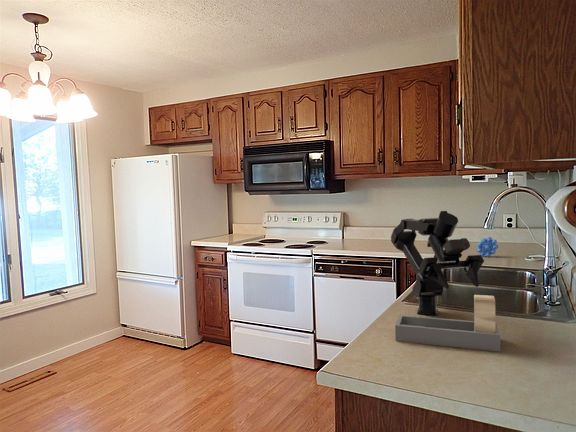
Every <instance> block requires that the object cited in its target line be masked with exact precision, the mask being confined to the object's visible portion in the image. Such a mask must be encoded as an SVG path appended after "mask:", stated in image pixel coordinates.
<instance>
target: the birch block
mask: <svg viewBox="0 0 576 432" xmlns="http://www.w3.org/2000/svg"><path fill="white" fill-rule="evenodd" d="M473 313H474V314H473V321H474V332H485V333H495V323H496V298H495V296H494V295H487V294H486V295H484V294H474V295H473Z"/></svg>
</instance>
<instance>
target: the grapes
mask: <svg viewBox="0 0 576 432" xmlns="http://www.w3.org/2000/svg"><path fill="white" fill-rule="evenodd" d="M497 243H498V241H497V239H493V237H491V236H490V237H489V236H488V237H487V238H486V237H484V238H482V239H481V240H480V241H479V242H478V243H477V248H476V252H477V253H479V255H481V256H482V257H484V256H485V257H486V256H489V257H491V255H495V254H496V252H497V250H498V249H499V244H497Z"/></svg>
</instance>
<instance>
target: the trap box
mask: <svg viewBox="0 0 576 432" xmlns="http://www.w3.org/2000/svg"><path fill="white" fill-rule="evenodd" d="M394 327H395V331H394V333H395V341H396V342H405V343H415V344H424V345H432V346H433V345H434V346H442V347H449V348H450V347H452V348H461V349H471V350H479V351H480V350H481V351H490V352H499V353H500V352H501V333H500V329H499V326H498V323H497V322H495V333H485V332H474V320H463V319H452V318H451V319H449V318H442V317H441V318H439V317H427V316H416V315H415V316H414V315H402V314H400V315H398V318H397V321H396V322H395V326H394Z"/></svg>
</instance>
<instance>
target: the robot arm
mask: <svg viewBox="0 0 576 432" xmlns="http://www.w3.org/2000/svg"><path fill="white" fill-rule="evenodd" d="M458 223H459V218H458V217H457V216H456V215H454V214H452V213H449V212H448V211H447V210H441V211H439V215H438V217H433V218H432V217H431V218H421V219H414V218H403V219H401V221H400V223H399V224H398V225H397V226H396V227H394V228H393V231H392V233H391V235H390V242H391V243H392V245H393V246H394V247H395V249H396V250H399V251H401V252H402V253H403V254H404V257H405V258H406V260H407V261H408V262H409V263H408V264H410V268H412V270H413V272H414V273H415V275H416V279H415V283H414V285H413V286H412V295H414V296H416V297H418V307H417V311H416V314H418V315H426V316H427V315H430V316H438V310H439V309H438V308H437V297H438V296H439V297H442V296H443V291H444V289H446V290H449V288H450V285H449V283H448V281H447V279H446V277H445V275H444V272H442V269H446V270H451V269H463V270H464V272H465V275H466V277H467V278H468V279H469V280H470V282H471V284H473V286H475V288H478V287H479V285H480V284H479V283H480V282H479V276H478V274H479V273H478V272H479V271H480V269H481V268H482V266H483V264H484V263H485V259H484V258H483V256H481V255H480V254H468V255H467V256H466V259H465V260H460V258H462V256H463V254H462V252H465V251H466V250H468V249H469V248H470V247H471V243H470V240H469V239H468V238H467V237H466V238H465V237H463V238H462V237H461V238H456V239H449V238H452V236H453V234H454V232H455V230H456V227H457V225H458ZM417 232H418V234H419V235H421V236H423V237H425V236H428V239H427V240H428V241H427V244H426V245H427V246H426V247H427V248H432V251H433V254H434V255H433V257H424V258H423V257H422V255H421V253H420V252H419V250H418V249H417V246H415V241H416V238H417Z"/></svg>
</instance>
